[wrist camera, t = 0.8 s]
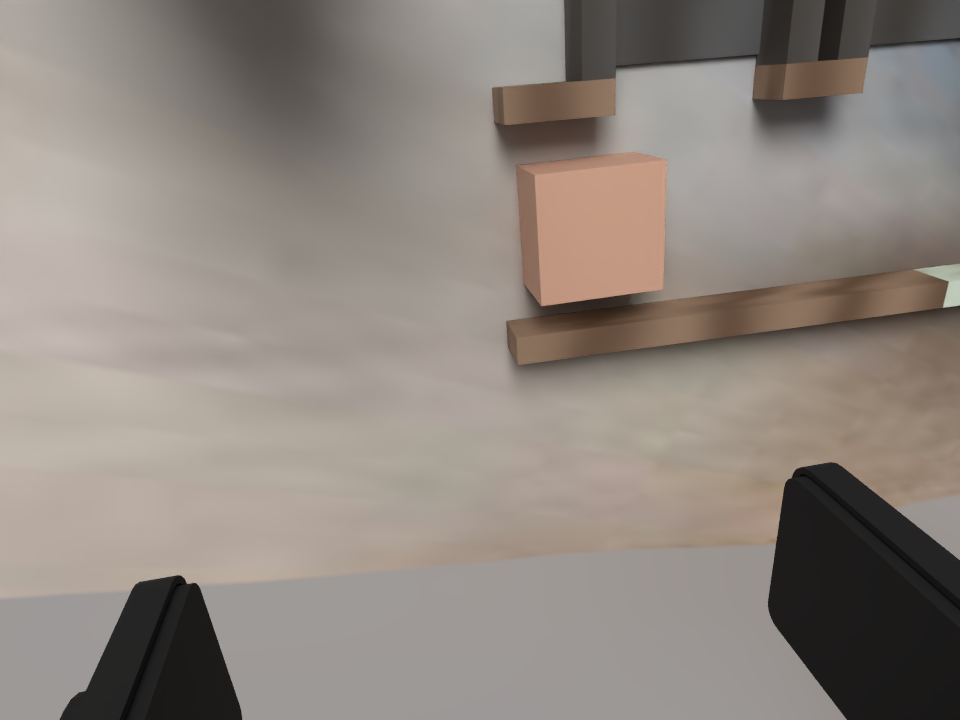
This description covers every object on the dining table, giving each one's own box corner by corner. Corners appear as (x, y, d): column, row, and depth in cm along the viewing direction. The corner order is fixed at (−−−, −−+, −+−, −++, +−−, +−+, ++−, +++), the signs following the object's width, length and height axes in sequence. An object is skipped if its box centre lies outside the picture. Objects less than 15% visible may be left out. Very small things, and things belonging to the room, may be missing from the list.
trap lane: (1156, -168, 29) (1236, -193, 27) (1028, 278, 38) (1078, 293, 35) (478, -140, 26) (491, -167, 23) (508, 346, 34) (519, 369, 32)
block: (632, 151, 32) (666, 159, 28) (631, 267, 34) (663, 289, 30) (515, 164, 31) (534, 174, 27) (522, 282, 33) (541, 306, 30)
